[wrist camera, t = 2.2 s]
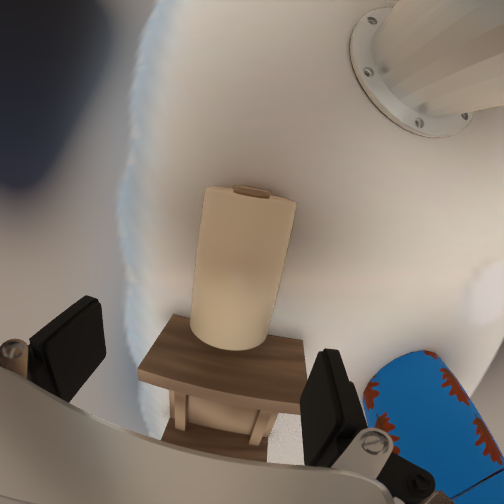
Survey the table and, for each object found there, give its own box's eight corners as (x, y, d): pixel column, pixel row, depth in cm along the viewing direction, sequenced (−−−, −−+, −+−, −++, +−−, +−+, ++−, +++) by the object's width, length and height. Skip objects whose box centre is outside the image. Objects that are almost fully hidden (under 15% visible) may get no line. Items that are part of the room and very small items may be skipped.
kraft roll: (218, 180, 21) (194, 183, 15) (295, 194, 20) (301, 202, 14) (201, 304, 24) (179, 342, 18) (268, 319, 23) (263, 362, 18)
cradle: (173, 314, 24) (137, 368, 16) (302, 340, 24) (310, 404, 16) (172, 416, 29) (153, 464, 21) (266, 436, 28) (262, 488, 21)
